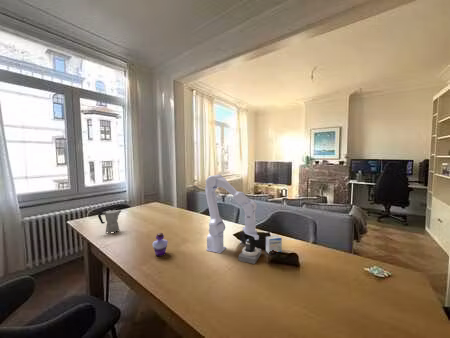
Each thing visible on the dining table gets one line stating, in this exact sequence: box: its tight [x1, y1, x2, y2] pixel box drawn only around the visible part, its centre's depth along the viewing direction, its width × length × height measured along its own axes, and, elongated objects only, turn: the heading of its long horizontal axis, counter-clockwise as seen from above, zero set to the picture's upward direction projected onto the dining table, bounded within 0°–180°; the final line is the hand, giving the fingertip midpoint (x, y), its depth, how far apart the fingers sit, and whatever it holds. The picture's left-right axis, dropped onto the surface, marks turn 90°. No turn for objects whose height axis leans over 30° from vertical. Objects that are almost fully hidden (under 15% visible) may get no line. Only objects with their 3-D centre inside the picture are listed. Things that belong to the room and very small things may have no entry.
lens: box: [245, 238, 254, 252], centre depth 114 cm, size 4×4×7 cm
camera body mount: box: [237, 246, 262, 265], centre depth 114 cm, size 9×13×4 cm
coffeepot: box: [97, 207, 122, 233], centre depth 154 cm, size 15×9×18 cm, turn 129°
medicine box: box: [265, 235, 283, 254], centre depth 120 cm, size 8×4×9 cm, turn 105°
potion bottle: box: [151, 232, 169, 257], centre depth 118 cm, size 9×9×12 cm
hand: (250, 247), depth 114 cm, fingers closed on lens, 4 cm apart
